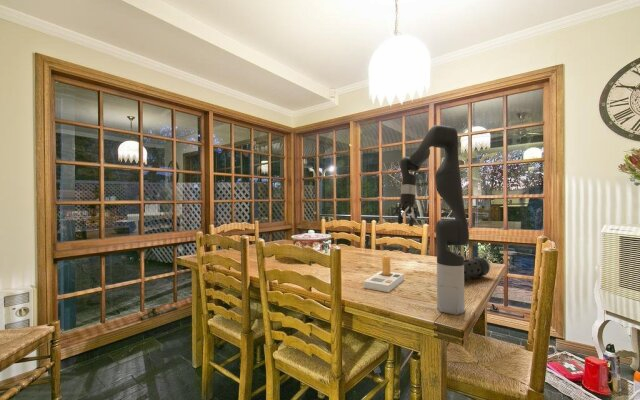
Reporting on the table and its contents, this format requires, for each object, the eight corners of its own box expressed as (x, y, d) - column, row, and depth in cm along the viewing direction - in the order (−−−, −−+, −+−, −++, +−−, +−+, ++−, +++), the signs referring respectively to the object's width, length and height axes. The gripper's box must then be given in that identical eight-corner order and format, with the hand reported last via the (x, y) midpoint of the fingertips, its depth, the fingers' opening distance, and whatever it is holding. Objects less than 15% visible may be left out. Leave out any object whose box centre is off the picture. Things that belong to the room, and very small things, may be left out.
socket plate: (388, 292, 124) (388, 284, 124) (363, 287, 131) (363, 280, 131) (403, 279, 142) (403, 273, 142) (381, 276, 149) (381, 270, 149)
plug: (388, 282, 139) (388, 257, 139) (381, 280, 141) (380, 256, 141) (391, 280, 142) (391, 256, 142) (384, 278, 145) (383, 255, 144)
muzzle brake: (437, 281, 139) (437, 260, 139) (474, 274, 152) (474, 255, 152) (454, 287, 131) (454, 264, 131) (492, 278, 143) (491, 258, 143)
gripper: (404, 191, 141) (402, 223, 138) (422, 196, 148) (420, 227, 146) (393, 192, 147) (390, 223, 145) (411, 197, 155) (408, 226, 152)
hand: (405, 225), depth 145 cm, fingers open, 8 cm apart
